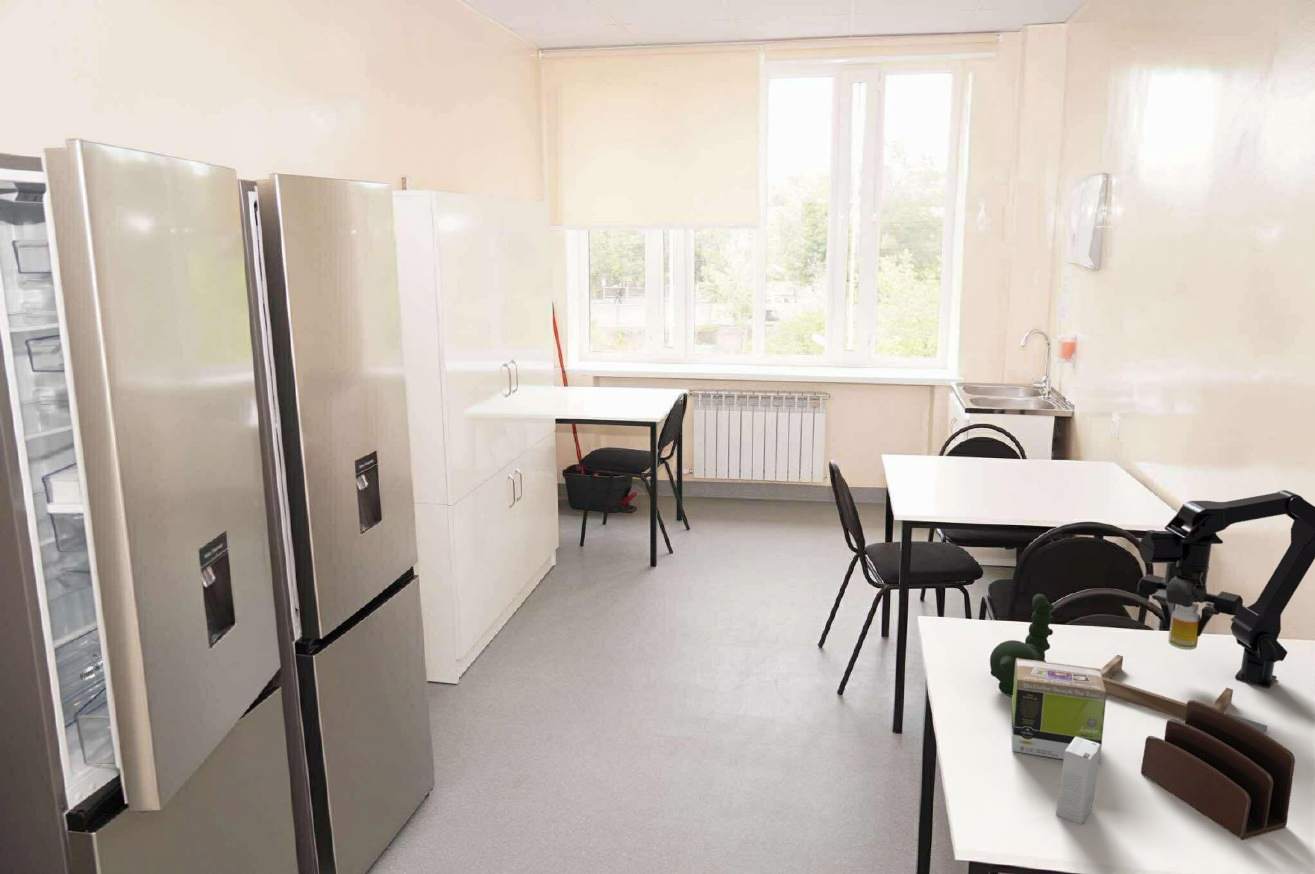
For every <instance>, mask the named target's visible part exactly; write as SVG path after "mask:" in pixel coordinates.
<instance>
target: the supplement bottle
mask: <svg viewBox="0 0 1315 874" xmlns="http://www.w3.org/2000/svg"><path fill="white" fill-rule="evenodd" d="M1175 606H1176V608H1173V611H1172V614H1171V622H1170V628H1169V632H1168V638H1167V639H1168V640H1167V643H1168V644H1169V645H1171V646H1172V647H1174V648H1176V649H1179V650H1187V651H1189V650H1190V651H1191V650H1194V649H1195V650H1196V648H1197V647H1198V640H1199V636H1197V633H1198V627H1199V623H1200V619H1201V616H1202V615H1201V614H1200V613H1199V612H1198V610H1199V602H1197V603H1195V602H1193V605H1192V606H1191V607H1184V606H1182V605H1179V604H1175Z"/></svg>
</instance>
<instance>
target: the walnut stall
mask: <svg viewBox="0 0 1315 874" xmlns="http://www.w3.org/2000/svg"><path fill="white" fill-rule="evenodd" d="M1123 662H1124V656H1123V655H1119V654H1116V655H1115V656H1114V657H1113V658H1112V659H1111V660H1109V661H1108V662H1107V663H1106V664H1105V665H1104V666H1103V667H1102V668H1099V669H1100V672H1101V676H1102V679H1103V683H1104V687H1105V690H1106V696H1107V695H1108V696H1110V697H1114V698H1117V699H1119V700H1122V701H1126V702H1128V703H1131V704H1134V705H1137V706H1140V707H1142V708H1147V709H1149V710H1153V711H1156V712H1159V713H1161V714H1164V715H1168V716H1171V717H1174V718H1176V719H1178V720H1182V721H1185V716H1186V707H1187V702H1186V703H1185V702H1182V701H1180V700H1176V699H1173V698H1171V697H1167V696H1164V695H1160V694H1157V693H1154V692H1151V691H1149V690H1145V689H1142V688H1138V687H1135V686H1133V685H1130V684H1126V683H1124V682H1123V683H1122V682H1121V681H1120V682H1119V681H1117V680H1114V679H1113V678H1114V677H1115V676H1116V675H1117V674H1118V673H1119V672H1120V671H1122V668H1123ZM1233 694H1234V689H1232V688H1229V687H1225V689H1224V690H1223V691H1222V693H1220V695H1219V696H1218V698H1216V700H1215V701H1214V702H1213V703H1212V704H1211V707H1213V708H1215V709H1217V710H1220V711H1222V712H1224V713H1226V712H1225V711H1226V710H1227V709H1228V708H1229V707H1228V706H1230V705H1231V704H1232V701H1233V700H1232V699H1233Z"/></svg>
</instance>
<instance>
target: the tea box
mask: <svg viewBox="0 0 1315 874" xmlns="http://www.w3.org/2000/svg"><path fill="white" fill-rule="evenodd" d="M1100 669H1101V668H1095V667H1090V666H1089V667H1088V666H1080V665H1071V664H1065V663H1058V662H1057V663H1056V662H1050V661H1046V662H1043V661H1035V660H1026V659H1019V658H1016V661H1015V673H1014V687H1013V696H1012V697H1011V698H1012V699H1011V701H1012V702H1011V709H1010V711H1011V712H1010V713H1011V714H1010V730H1011V734H1010V735H1011V750H1012V751H1013V752H1017V753H1023V754H1029V755H1034V756H1041V757H1048V758H1052V759H1053V758H1055V759H1061V760H1064V752H1065V750H1066V749H1067V747H1068V746H1069V745H1070V743H1071V742H1072V740H1073V739H1074V738H1075V737H1080V738H1083V739H1086V740H1089V741H1093V742H1096V743H1099V744H1101V747H1102V743H1103V734H1104V733H1103V732H1104V725H1105V724H1104V723H1105V713H1106V704H1107V703H1106V701H1107V694H1106V690H1105V687H1104V683H1103V679H1102V676H1101V672H1100ZM1012 751H1011V752H1012ZM1101 753H1102V750H1101V751H1100V756H1102V755H1101ZM1100 763H1101V758H1100V759H1099V765H1100Z"/></svg>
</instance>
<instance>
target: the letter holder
mask: <svg viewBox="0 0 1315 874" xmlns="http://www.w3.org/2000/svg"><path fill="white" fill-rule="evenodd" d="M1186 704H1187V707H1186V716H1185V720H1184V722H1183V721H1180V720H1179V719H1178V720H1177V719H1175V718H1170V719H1167V721H1166V724H1165V731H1164V737H1163V738H1164V739H1162V738H1159V737H1157V736H1154V735H1148V736H1147V737H1146V739H1145V741H1144V749H1143V757H1142V763H1141V768H1140V774H1141V775H1143V776H1144V777H1146V778H1147V779H1149V780H1150V781H1152V782H1154V783H1155V784H1156V785H1158V786H1159V787H1162V788H1163V789H1164V790H1165V791H1167V792H1169V793H1171V794H1172V796H1175V797H1176V798H1178V799H1179V800H1181V802H1182V801H1183V802H1184V803H1186V804H1187V805H1188V806H1190V807H1192V808H1193V809H1195V810H1196V811H1198V812H1199V813H1201V814H1202V815H1204V816H1206V817H1207V818H1208V819H1209V820H1211V821H1213V822H1214V823H1215V824H1217V825H1219V826H1221V827H1223V828H1224V829H1225V830H1226V831H1228V832H1230V833H1232V834H1233V835H1235V836H1236V837H1238V838H1239V839H1240V840H1241V841H1244V840H1246V839H1247V840H1248V839H1251V838H1254V837H1256V836H1260V835H1264V834H1265V835H1266V834H1267V833H1271V832H1274V831H1279V830H1281V829H1284V828H1286V827H1287V823H1288V818H1289V808H1290V801H1291V794H1292V787H1293V779H1294V778H1293V777H1294V773H1295V765H1296V758H1295V755H1294V753H1293V752H1291V751H1290V750H1289V749H1288V748H1287V747H1285V746H1283V745H1282V744H1280V743H1279V742H1278V741H1276V740H1275V739H1273V738H1271V737H1270V736H1268V735H1267V734H1266V733H1265V734H1264V733H1262V732H1260V731H1259V730H1257V729H1255V728H1253V727H1252V726H1250V725H1248V724H1246V723H1244V722H1242V721H1240V720H1238V719H1236V718H1234V717H1232V716H1230V715H1228V714H1226V713H1227V712H1222V711H1220V710H1217V709H1215V708H1213V707H1211V706H1212V705H1211V706H1210V705H1208V704H1206V703H1204V702H1200V701H1198V700H1195V699H1189V700H1188V701H1187V702H1186Z"/></svg>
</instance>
